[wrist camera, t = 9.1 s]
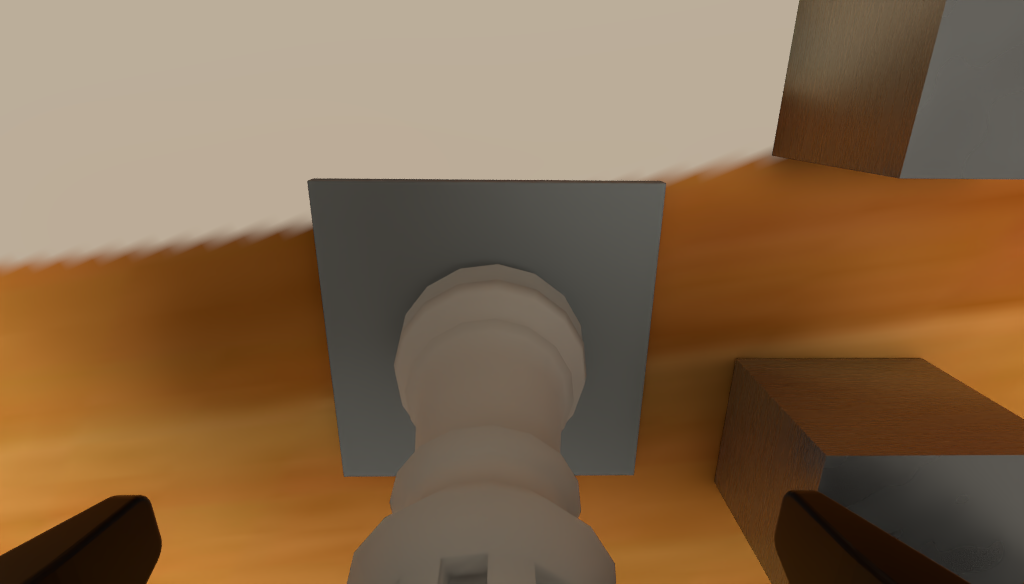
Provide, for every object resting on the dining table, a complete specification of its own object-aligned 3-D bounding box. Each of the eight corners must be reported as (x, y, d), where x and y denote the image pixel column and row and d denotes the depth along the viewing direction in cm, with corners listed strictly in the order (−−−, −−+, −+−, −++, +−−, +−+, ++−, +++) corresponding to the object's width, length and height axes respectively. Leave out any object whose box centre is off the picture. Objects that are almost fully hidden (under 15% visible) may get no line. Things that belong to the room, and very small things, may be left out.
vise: (870, 524, 16) (988, 657, 12) (706, 525, 15) (772, 660, 12) (1048, -44, 10) (1354, -128, 7) (807, -48, 10) (982, -136, 7)
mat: (630, 465, 15) (633, 475, 14) (347, 467, 14) (344, 476, 14) (660, 181, 12) (666, 183, 12) (313, 178, 12) (307, 180, 11)
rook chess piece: (529, 444, 14) (564, 848, 6) (374, 379, 13) (203, 750, 6) (614, 306, 13) (786, 607, 5) (447, 225, 12) (352, 437, 4)
